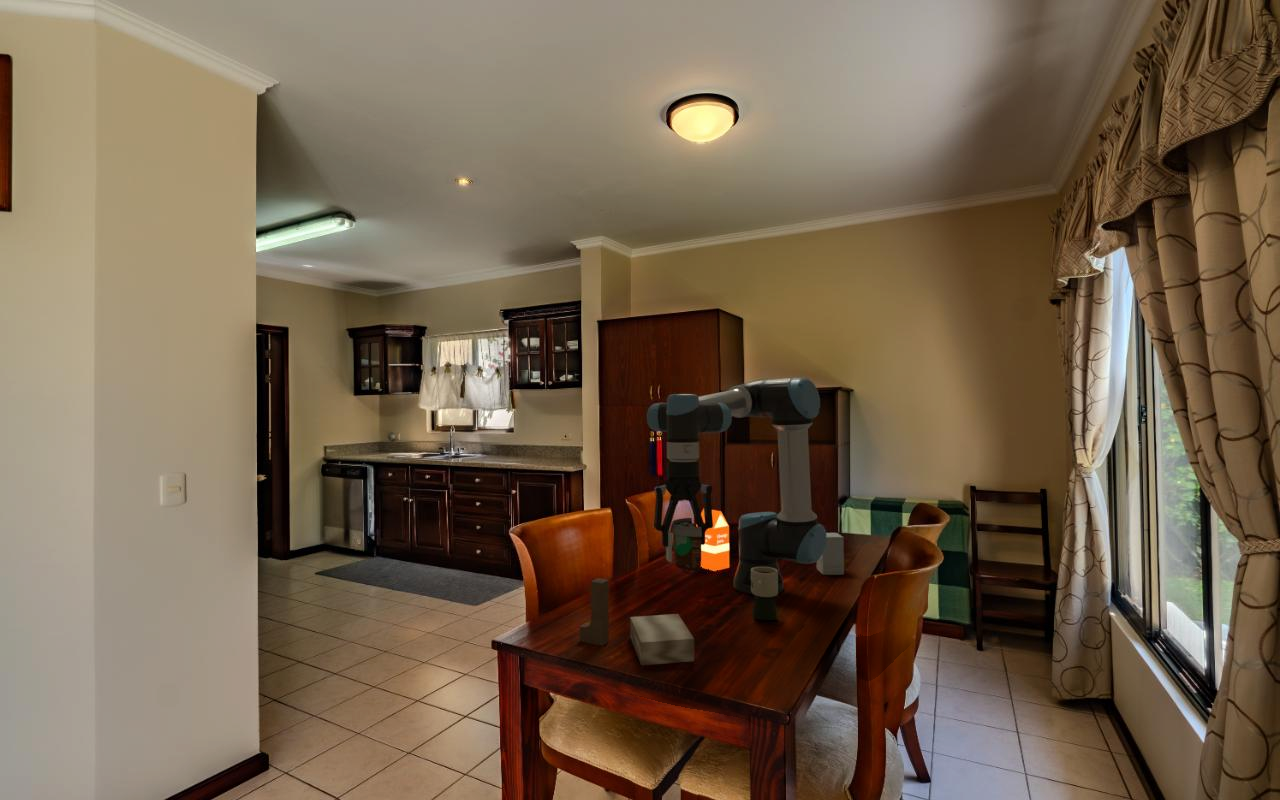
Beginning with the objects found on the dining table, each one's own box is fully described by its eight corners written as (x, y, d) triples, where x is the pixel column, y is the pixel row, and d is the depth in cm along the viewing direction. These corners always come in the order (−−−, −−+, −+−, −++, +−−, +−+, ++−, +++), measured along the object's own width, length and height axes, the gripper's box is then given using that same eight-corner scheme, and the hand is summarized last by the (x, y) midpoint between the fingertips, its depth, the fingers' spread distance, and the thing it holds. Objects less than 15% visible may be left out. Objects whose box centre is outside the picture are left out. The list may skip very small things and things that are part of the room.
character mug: (758, 610, 166) (757, 563, 166) (783, 614, 163) (783, 566, 163) (745, 623, 156) (744, 573, 157) (772, 628, 153) (771, 576, 153)
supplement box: (844, 575, 200) (844, 537, 200) (822, 575, 200) (821, 537, 200) (837, 569, 207) (837, 532, 207) (816, 569, 207) (815, 532, 207)
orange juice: (711, 562, 217) (710, 506, 217) (729, 567, 210) (729, 510, 210) (696, 566, 212) (695, 509, 212) (714, 571, 205) (713, 512, 205)
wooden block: (609, 641, 145) (608, 579, 145) (602, 646, 142) (602, 583, 142) (586, 637, 148) (585, 576, 148) (579, 641, 145) (578, 579, 145)
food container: (666, 559, 145) (666, 518, 145) (691, 558, 146) (691, 517, 146) (675, 573, 133) (674, 528, 133) (702, 572, 134) (701, 527, 134)
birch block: (678, 634, 150) (677, 613, 150) (694, 661, 134) (694, 638, 134) (630, 637, 148) (630, 617, 148) (641, 665, 132) (641, 642, 132)
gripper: (645, 462, 134) (646, 566, 134) (727, 460, 138) (728, 561, 138) (639, 459, 142) (640, 557, 142) (717, 457, 145) (718, 553, 145)
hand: (683, 559), depth 140 cm, fingers closed on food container, 6 cm apart
